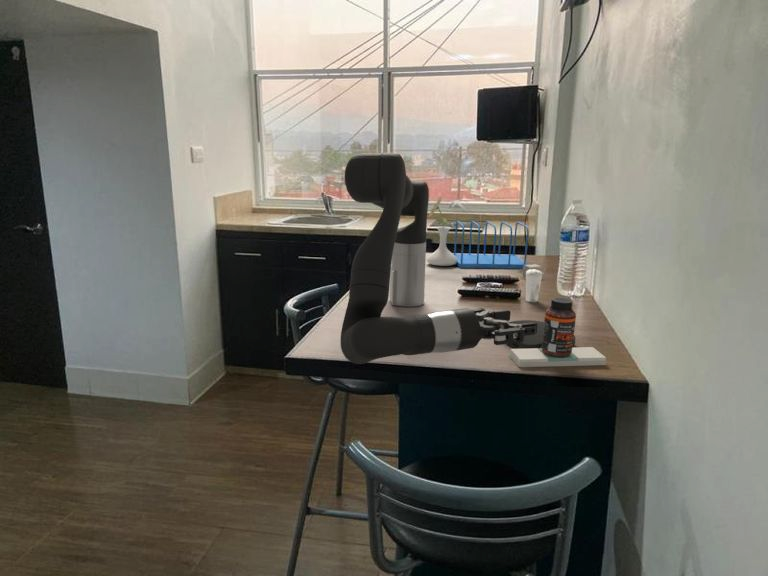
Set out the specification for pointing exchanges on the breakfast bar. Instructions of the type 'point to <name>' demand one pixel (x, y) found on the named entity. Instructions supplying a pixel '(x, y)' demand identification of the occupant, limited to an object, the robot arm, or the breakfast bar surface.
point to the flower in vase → (441, 244)
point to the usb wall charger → (527, 267)
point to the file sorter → (490, 259)
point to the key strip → (557, 358)
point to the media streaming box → (531, 336)
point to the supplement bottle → (559, 328)
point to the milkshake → (533, 284)
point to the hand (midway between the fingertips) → (522, 321)
